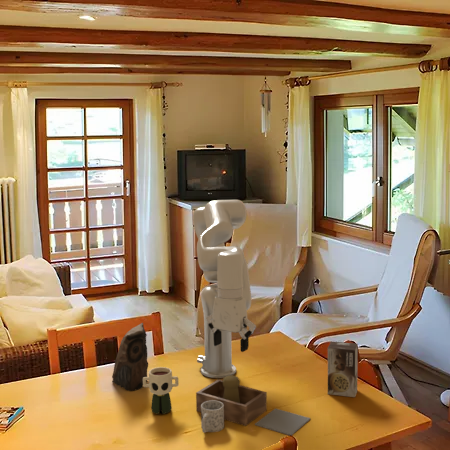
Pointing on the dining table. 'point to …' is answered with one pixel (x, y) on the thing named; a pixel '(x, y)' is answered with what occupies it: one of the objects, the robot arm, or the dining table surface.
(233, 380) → the cork
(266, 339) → the dining table surface
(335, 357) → the coffee box
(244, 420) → the walnut box
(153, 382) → the character mug
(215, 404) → the mug
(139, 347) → the owl
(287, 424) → the grey mat
